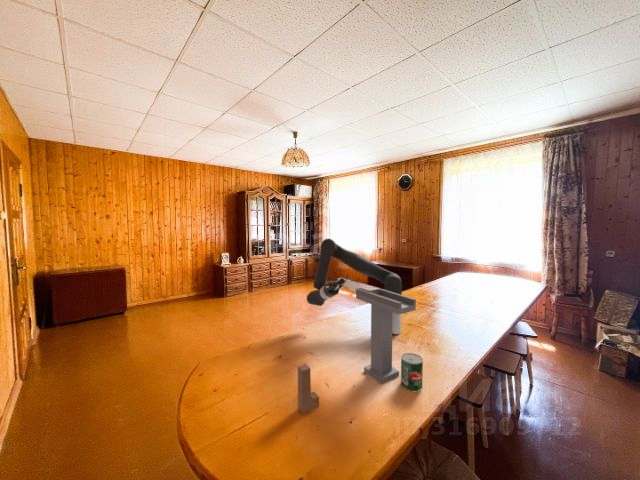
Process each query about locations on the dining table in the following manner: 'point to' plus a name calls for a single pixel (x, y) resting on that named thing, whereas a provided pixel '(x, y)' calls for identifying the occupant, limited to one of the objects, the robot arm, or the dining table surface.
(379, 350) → the stand
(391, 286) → the robot arm
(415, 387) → the canned tomato
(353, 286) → the block
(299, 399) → the l-shaped bracket
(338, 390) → the dining table surface
